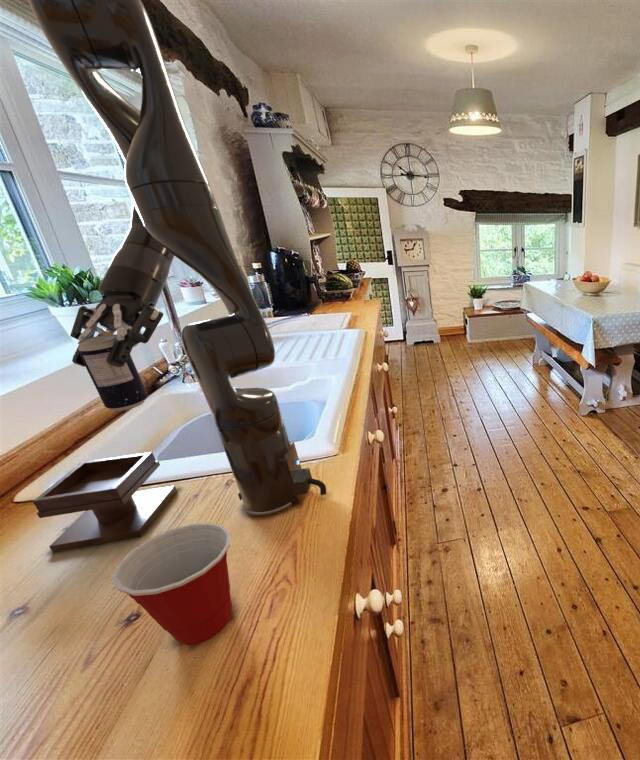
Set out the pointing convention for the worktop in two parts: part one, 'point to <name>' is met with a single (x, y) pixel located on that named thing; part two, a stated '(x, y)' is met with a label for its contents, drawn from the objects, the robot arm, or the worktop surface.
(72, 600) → the worktop surface
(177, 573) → the plastic cup
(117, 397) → the beverage can
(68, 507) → the cup stand
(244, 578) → the worktop surface
